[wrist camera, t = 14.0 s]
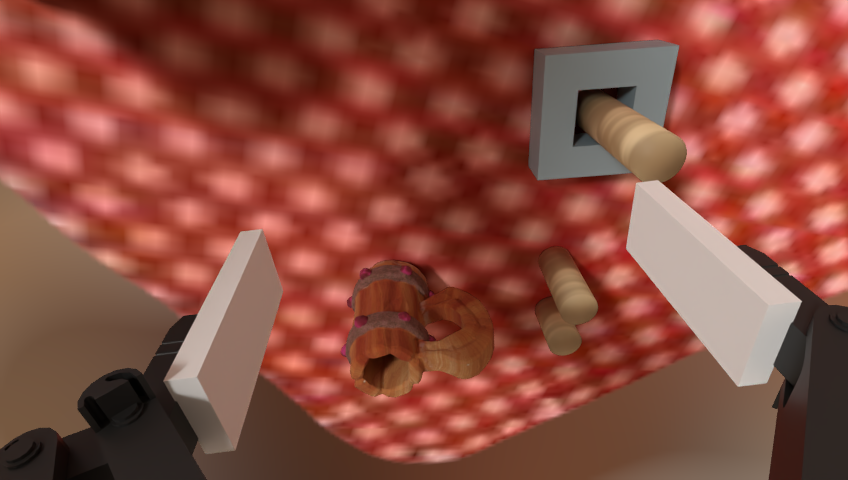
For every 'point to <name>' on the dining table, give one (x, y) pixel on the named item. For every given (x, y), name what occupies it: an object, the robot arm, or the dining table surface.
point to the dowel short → (557, 328)
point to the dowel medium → (567, 286)
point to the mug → (411, 330)
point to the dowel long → (630, 136)
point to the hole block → (583, 70)
